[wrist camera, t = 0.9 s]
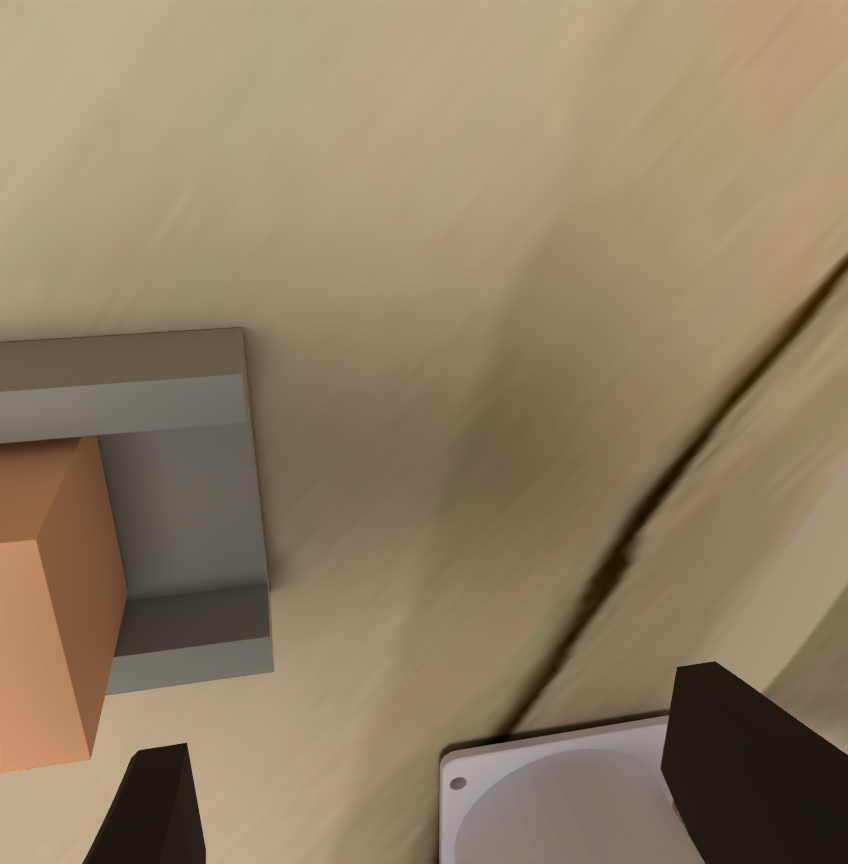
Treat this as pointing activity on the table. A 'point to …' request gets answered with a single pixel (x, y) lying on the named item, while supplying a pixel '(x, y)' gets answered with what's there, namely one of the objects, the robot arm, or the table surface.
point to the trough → (163, 490)
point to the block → (55, 600)
